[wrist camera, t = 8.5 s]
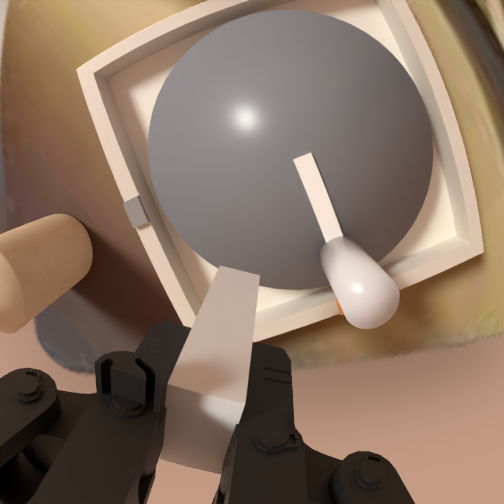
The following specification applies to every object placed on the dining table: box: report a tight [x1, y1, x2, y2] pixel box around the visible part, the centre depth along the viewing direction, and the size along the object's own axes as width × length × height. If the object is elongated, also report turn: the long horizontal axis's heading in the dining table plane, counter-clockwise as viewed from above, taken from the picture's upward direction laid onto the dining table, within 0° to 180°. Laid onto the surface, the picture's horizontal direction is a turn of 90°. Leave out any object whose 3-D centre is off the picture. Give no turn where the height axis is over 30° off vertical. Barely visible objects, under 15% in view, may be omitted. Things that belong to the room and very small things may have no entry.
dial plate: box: [76, 0, 484, 342], centre depth 18 cm, size 20×20×4 cm
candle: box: [0, 214, 93, 333], centre depth 17 cm, size 6×6×10 cm
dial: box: [148, 10, 433, 329], centre depth 14 cm, size 16×16×8 cm
